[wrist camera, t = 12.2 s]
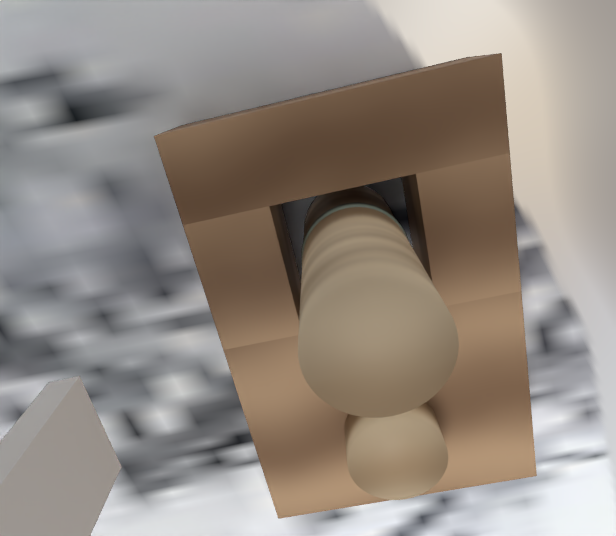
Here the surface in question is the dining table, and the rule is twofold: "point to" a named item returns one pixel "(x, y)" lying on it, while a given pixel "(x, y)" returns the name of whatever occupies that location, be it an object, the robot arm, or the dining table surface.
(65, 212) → the dining table surface
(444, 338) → the beech dowel
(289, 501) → the wooden block with hole
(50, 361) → the dining table surface
